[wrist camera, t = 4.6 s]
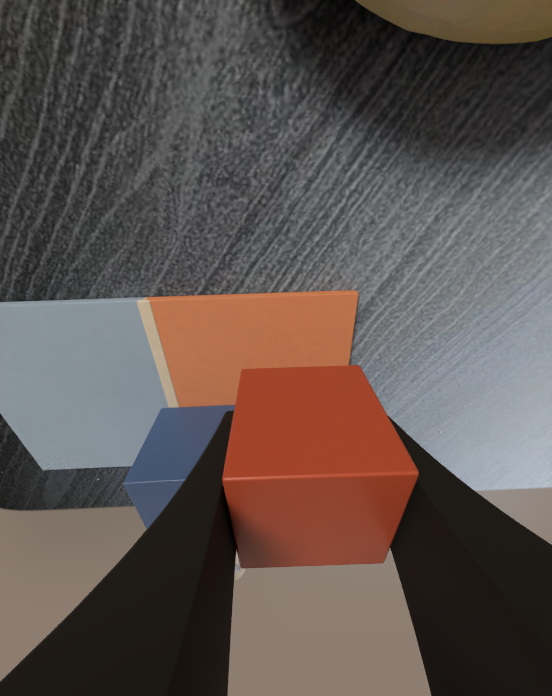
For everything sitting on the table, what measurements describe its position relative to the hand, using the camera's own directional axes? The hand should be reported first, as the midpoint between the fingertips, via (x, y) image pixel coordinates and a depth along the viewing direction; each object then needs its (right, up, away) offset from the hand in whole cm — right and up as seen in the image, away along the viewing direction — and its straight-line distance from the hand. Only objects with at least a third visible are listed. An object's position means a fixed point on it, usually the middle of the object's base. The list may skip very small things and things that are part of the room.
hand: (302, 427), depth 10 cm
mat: (-7, +1, +5) cm, 8 cm away
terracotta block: (0, 0, +1) cm, 1 cm away
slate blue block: (-5, -2, +5) cm, 8 cm away
